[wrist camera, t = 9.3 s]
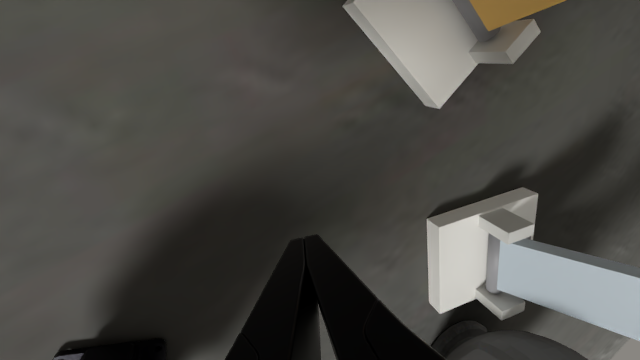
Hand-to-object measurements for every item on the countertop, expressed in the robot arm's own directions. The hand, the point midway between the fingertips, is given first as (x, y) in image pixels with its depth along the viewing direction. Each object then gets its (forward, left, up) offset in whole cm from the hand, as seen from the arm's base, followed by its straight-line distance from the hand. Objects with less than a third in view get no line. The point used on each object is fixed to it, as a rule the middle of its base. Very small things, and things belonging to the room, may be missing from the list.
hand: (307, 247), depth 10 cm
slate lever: (-8, -21, -10) cm, 25 cm away
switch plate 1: (+10, -11, -12) cm, 20 cm away
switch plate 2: (-8, -21, -12) cm, 26 cm away
